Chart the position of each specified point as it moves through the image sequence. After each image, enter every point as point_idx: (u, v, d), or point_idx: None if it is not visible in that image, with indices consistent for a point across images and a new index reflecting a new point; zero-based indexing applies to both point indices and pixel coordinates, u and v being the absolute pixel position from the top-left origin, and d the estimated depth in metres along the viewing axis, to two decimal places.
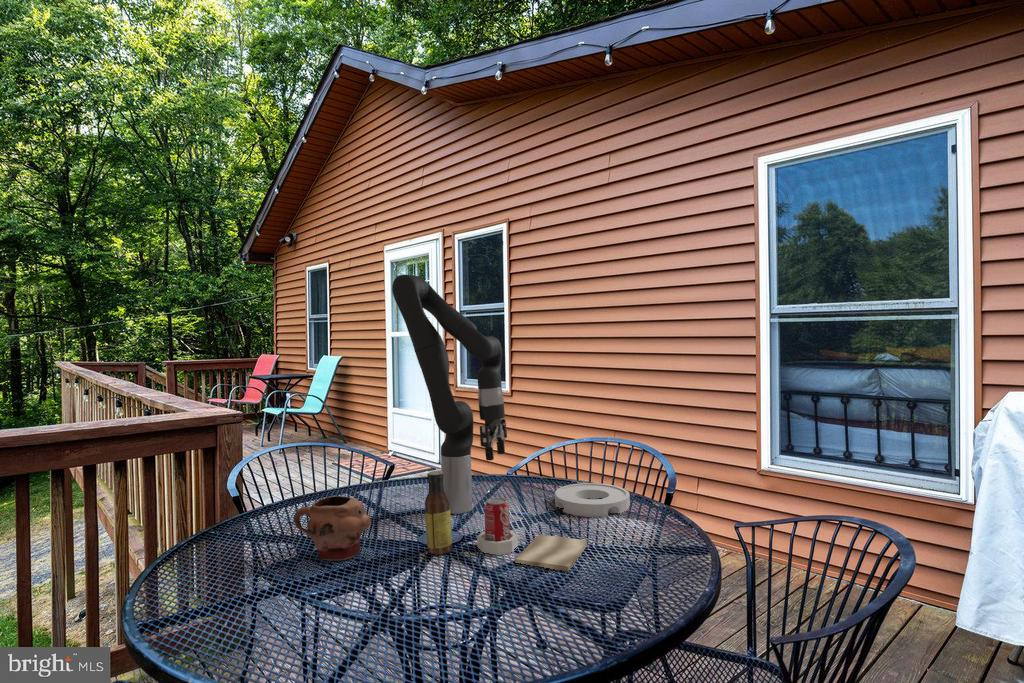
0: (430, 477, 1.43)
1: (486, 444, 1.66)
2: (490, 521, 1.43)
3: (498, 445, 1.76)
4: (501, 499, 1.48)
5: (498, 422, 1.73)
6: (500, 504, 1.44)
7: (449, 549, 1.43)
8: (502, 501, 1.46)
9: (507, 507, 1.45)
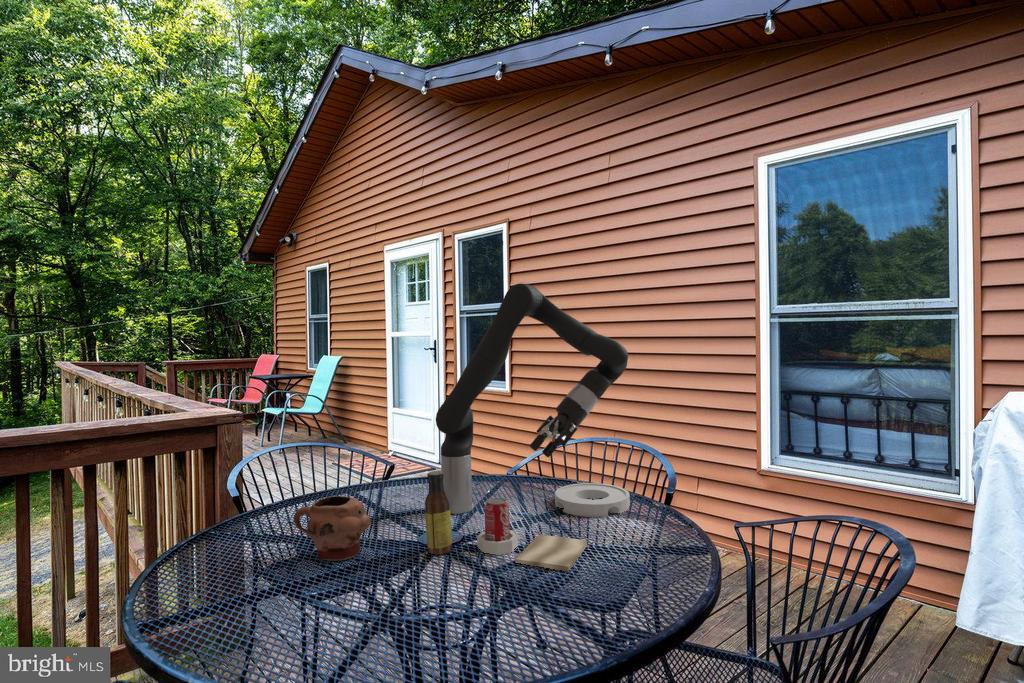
0: (430, 477, 1.43)
1: (564, 443, 1.44)
2: (490, 521, 1.43)
3: (537, 440, 1.54)
4: (501, 499, 1.48)
5: None
6: (500, 504, 1.44)
7: (449, 549, 1.43)
8: (502, 501, 1.46)
9: (507, 507, 1.45)
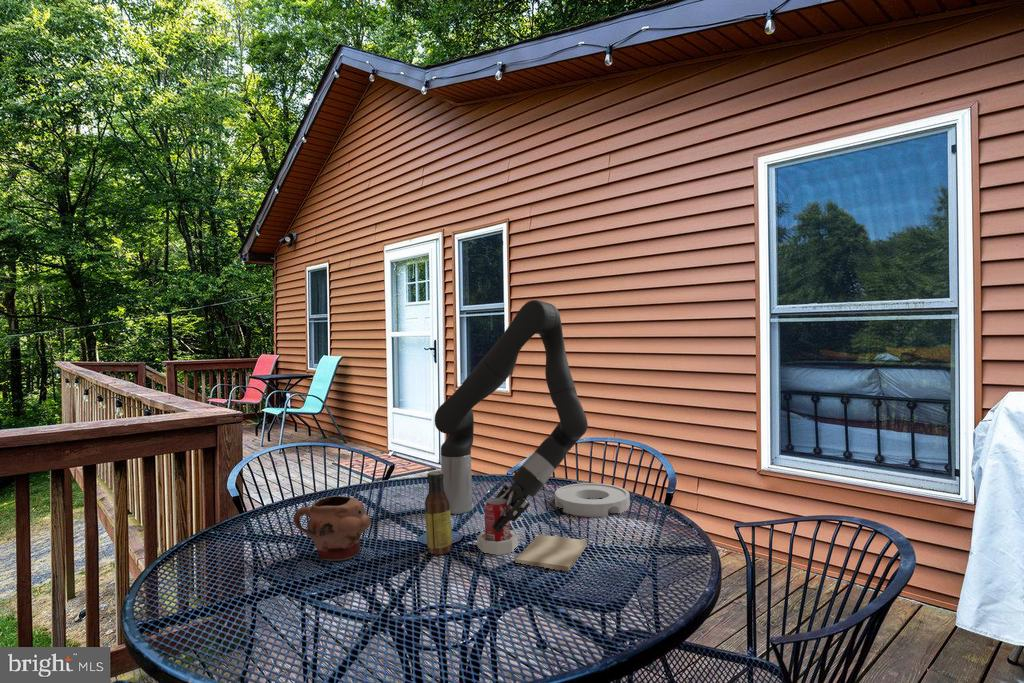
0: (430, 477, 1.43)
1: (514, 518, 1.41)
2: (490, 521, 1.43)
3: None
4: (501, 499, 1.48)
5: None
6: (500, 504, 1.44)
7: (449, 549, 1.43)
8: (502, 501, 1.46)
9: None
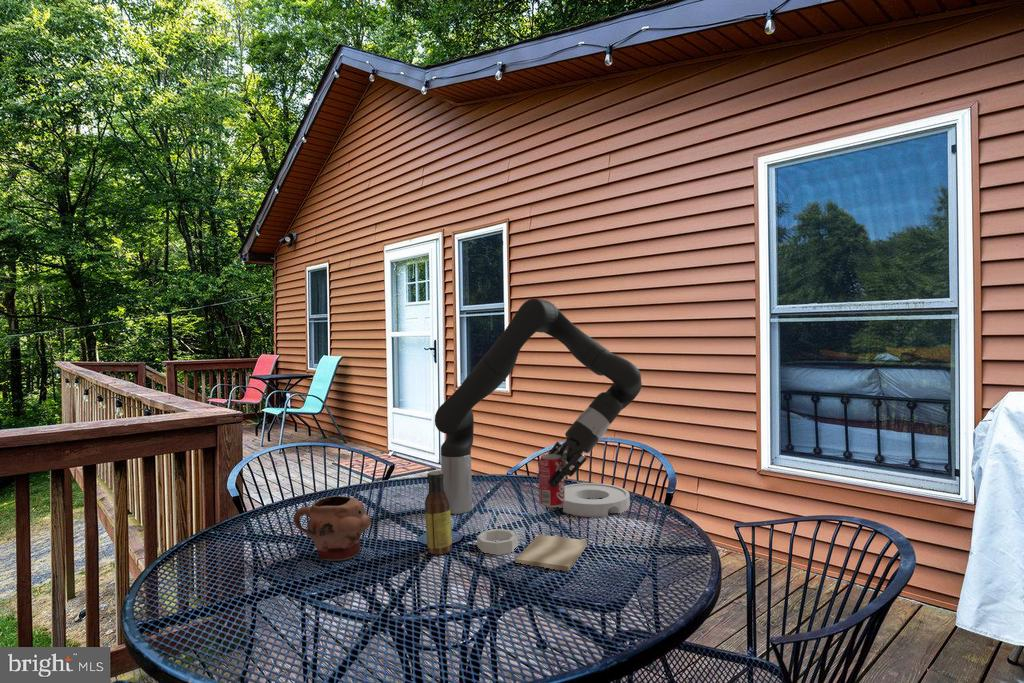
0: (430, 477, 1.43)
1: (571, 473, 1.36)
2: (545, 476, 1.38)
3: None
4: (555, 455, 1.43)
5: None
6: (555, 459, 1.39)
7: (449, 549, 1.43)
8: (556, 457, 1.41)
9: None
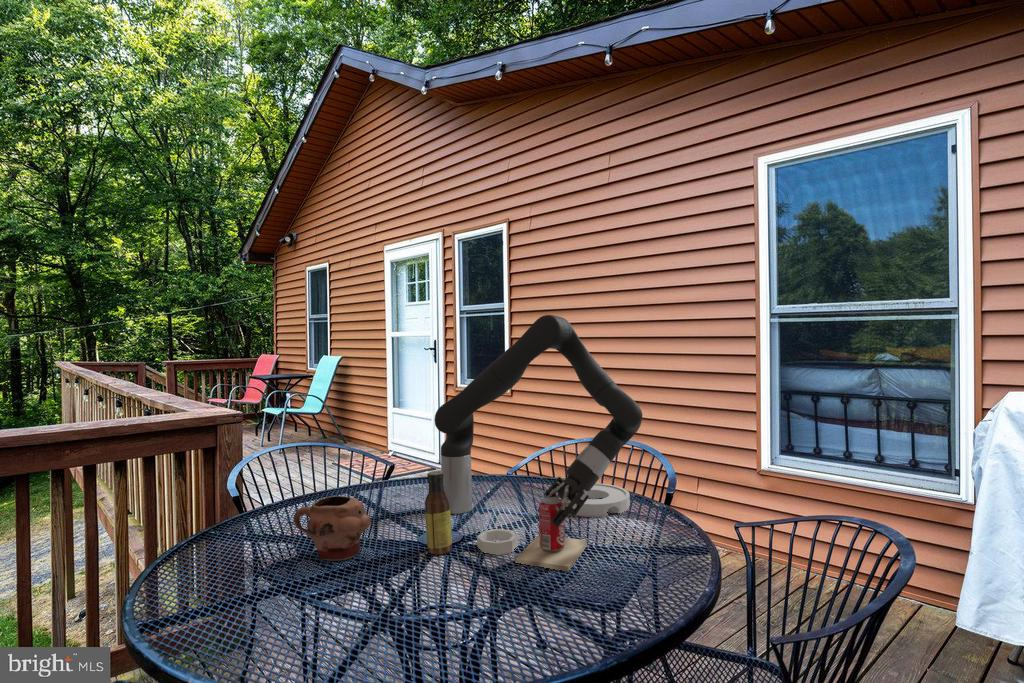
0: (430, 477, 1.43)
1: (574, 512, 1.35)
2: (546, 521, 1.39)
3: None
4: (555, 498, 1.43)
5: None
6: (556, 503, 1.39)
7: (449, 549, 1.43)
8: (557, 500, 1.42)
9: None
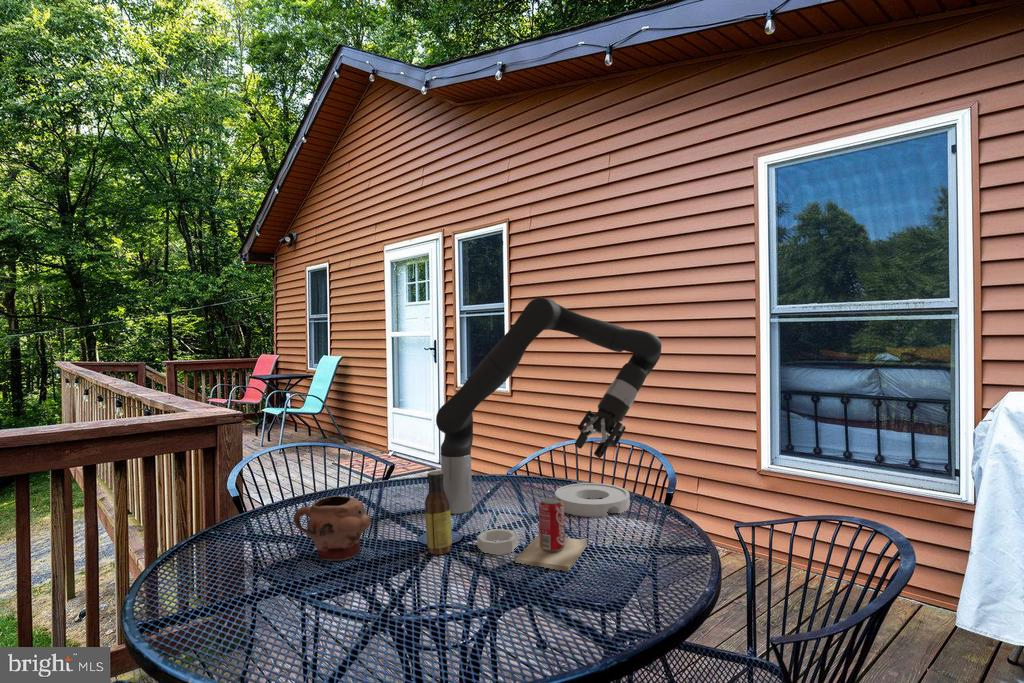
0: (430, 477, 1.43)
1: (615, 443, 1.47)
2: (546, 521, 1.39)
3: (582, 437, 1.55)
4: (555, 498, 1.43)
5: None
6: (556, 503, 1.39)
7: (449, 549, 1.43)
8: (557, 500, 1.42)
9: (562, 506, 1.40)
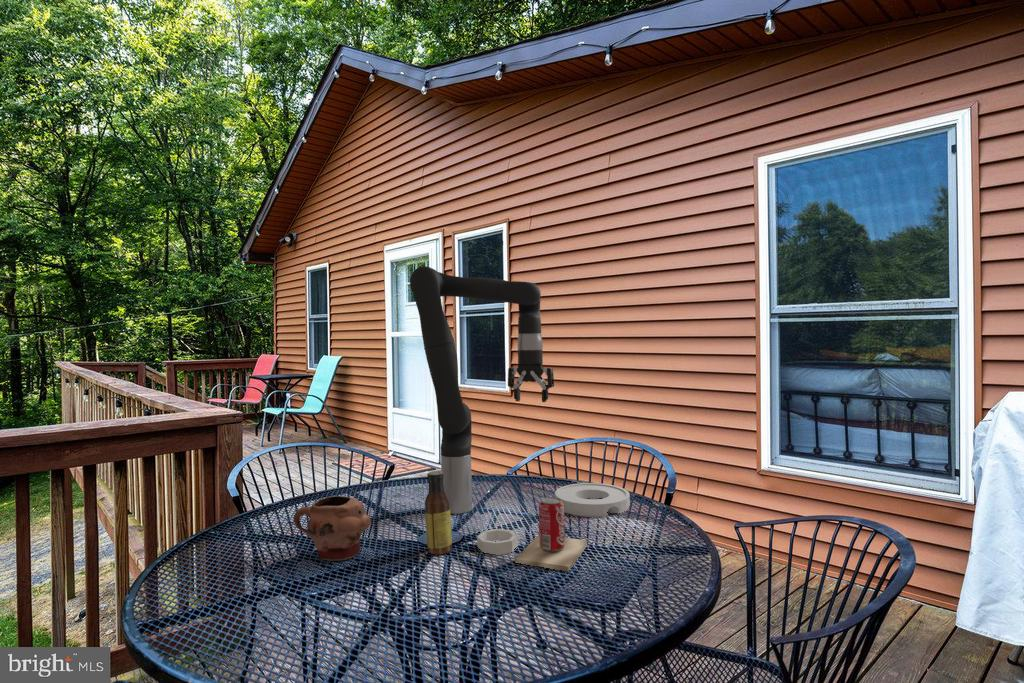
0: (430, 477, 1.43)
1: (553, 385, 1.74)
2: (546, 521, 1.39)
3: (518, 392, 1.77)
4: (555, 498, 1.43)
5: None
6: (556, 503, 1.39)
7: (449, 549, 1.43)
8: (557, 500, 1.42)
9: (562, 507, 1.40)
